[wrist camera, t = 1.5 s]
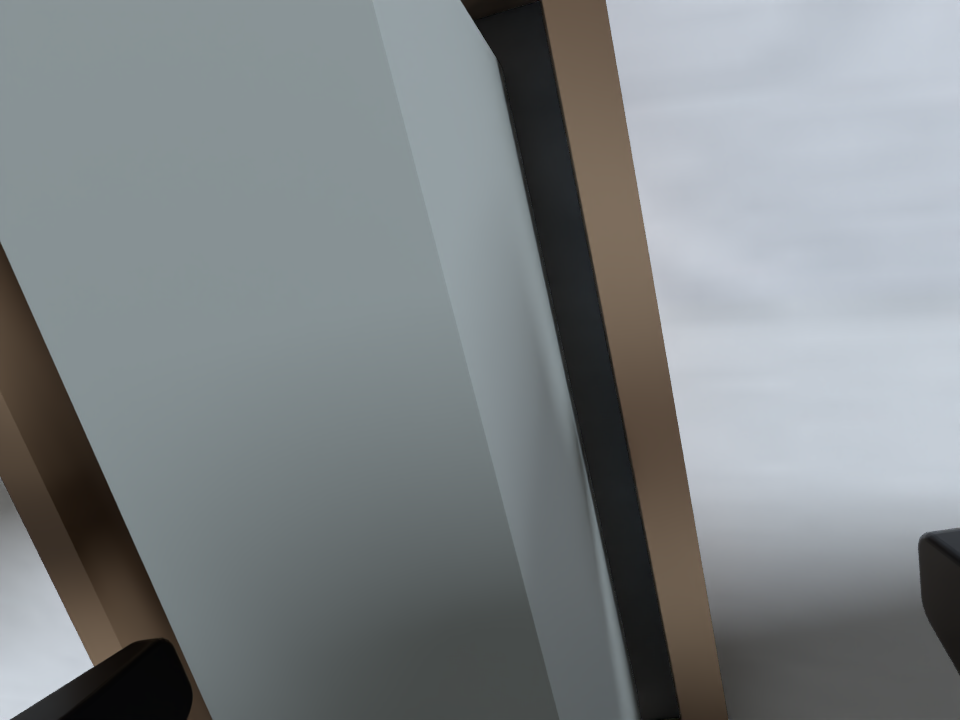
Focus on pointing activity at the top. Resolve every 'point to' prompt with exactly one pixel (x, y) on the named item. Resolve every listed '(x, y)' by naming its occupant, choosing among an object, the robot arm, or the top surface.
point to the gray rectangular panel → (314, 351)
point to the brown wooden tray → (632, 352)
